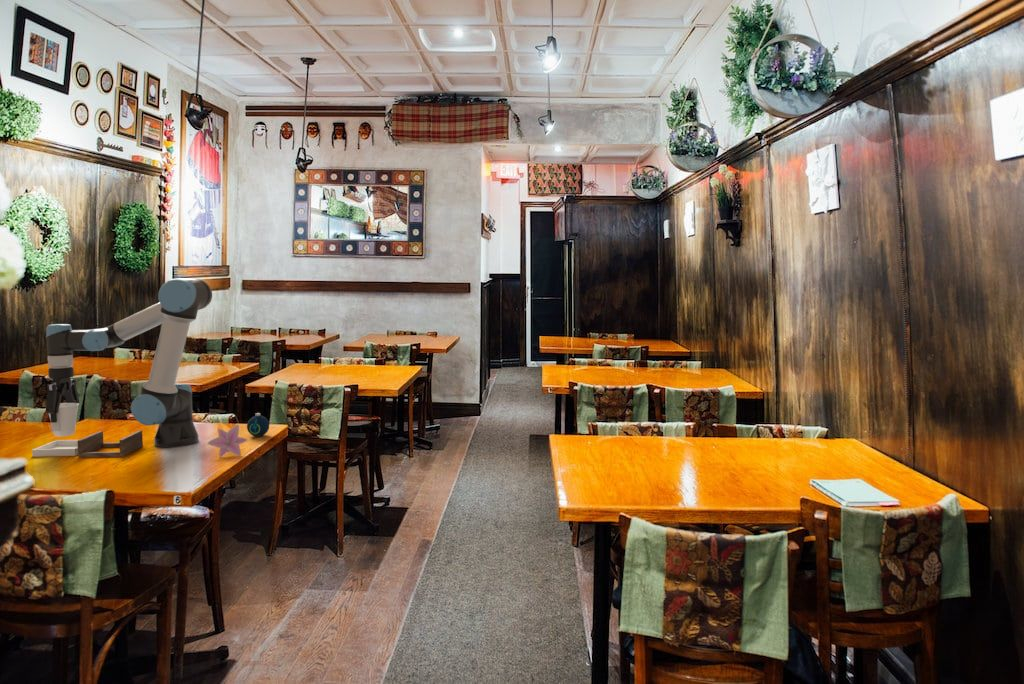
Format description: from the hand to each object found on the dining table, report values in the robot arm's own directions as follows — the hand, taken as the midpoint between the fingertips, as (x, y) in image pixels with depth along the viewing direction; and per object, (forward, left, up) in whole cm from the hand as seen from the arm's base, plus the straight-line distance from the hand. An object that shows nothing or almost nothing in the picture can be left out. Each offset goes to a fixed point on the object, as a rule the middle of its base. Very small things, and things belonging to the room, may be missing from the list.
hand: (64, 427), depth 237 cm
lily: (-60, +9, -9) cm, 62 cm away
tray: (0, 0, -9) cm, 9 cm away
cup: (0, 0, -3) cm, 3 cm away
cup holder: (-17, +2, -9) cm, 19 cm away
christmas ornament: (-63, -19, -9) cm, 66 cm away
